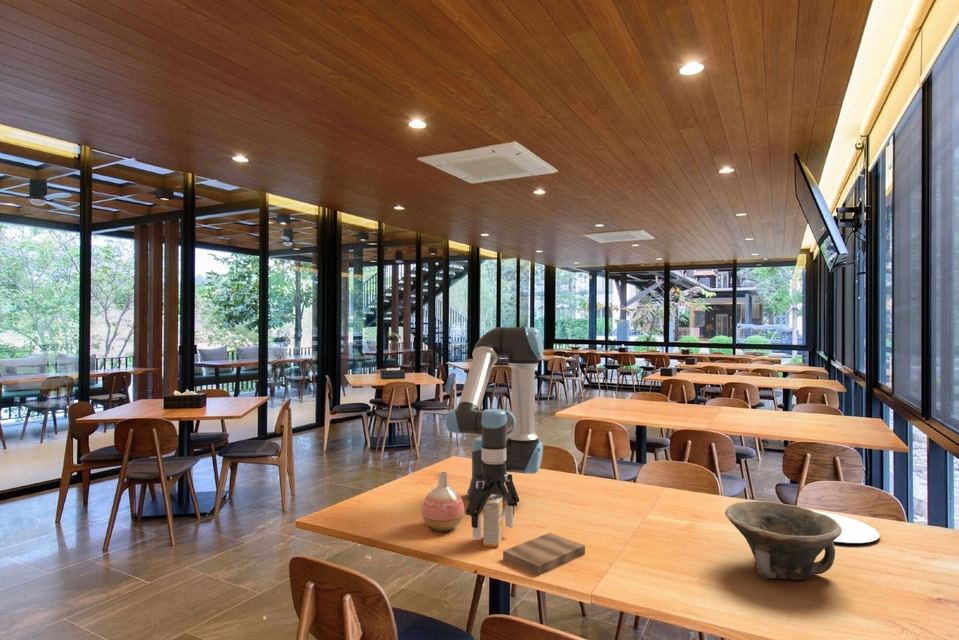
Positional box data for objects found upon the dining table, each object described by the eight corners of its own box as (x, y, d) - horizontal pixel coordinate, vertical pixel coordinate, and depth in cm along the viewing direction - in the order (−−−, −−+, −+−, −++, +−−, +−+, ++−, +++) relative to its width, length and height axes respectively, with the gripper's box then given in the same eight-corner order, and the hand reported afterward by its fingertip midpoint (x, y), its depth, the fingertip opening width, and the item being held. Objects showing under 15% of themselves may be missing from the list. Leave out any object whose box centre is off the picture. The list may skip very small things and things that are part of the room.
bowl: (793, 606, 125) (793, 541, 126) (704, 561, 150) (704, 507, 150) (866, 585, 136) (866, 525, 136) (772, 546, 160) (772, 495, 161)
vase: (431, 539, 165) (431, 480, 165) (415, 524, 177) (415, 470, 177) (471, 531, 171) (472, 475, 171) (453, 518, 183) (453, 465, 183)
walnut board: (549, 541, 164) (549, 532, 164) (585, 554, 154) (585, 545, 154) (503, 559, 150) (503, 550, 150) (538, 575, 140) (538, 566, 140)
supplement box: (499, 547, 158) (499, 502, 158) (482, 546, 159) (483, 501, 159) (503, 537, 166) (503, 494, 166) (488, 536, 167) (488, 493, 167)
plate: (867, 522, 182) (867, 517, 182) (891, 554, 156) (891, 548, 156) (769, 509, 194) (769, 505, 194) (776, 537, 168) (776, 532, 168)
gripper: (513, 453, 174) (512, 519, 174) (454, 465, 157) (453, 539, 157) (530, 457, 169) (530, 525, 168) (471, 470, 152) (470, 547, 151)
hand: (493, 532), depth 163 cm, fingers open, 13 cm apart
